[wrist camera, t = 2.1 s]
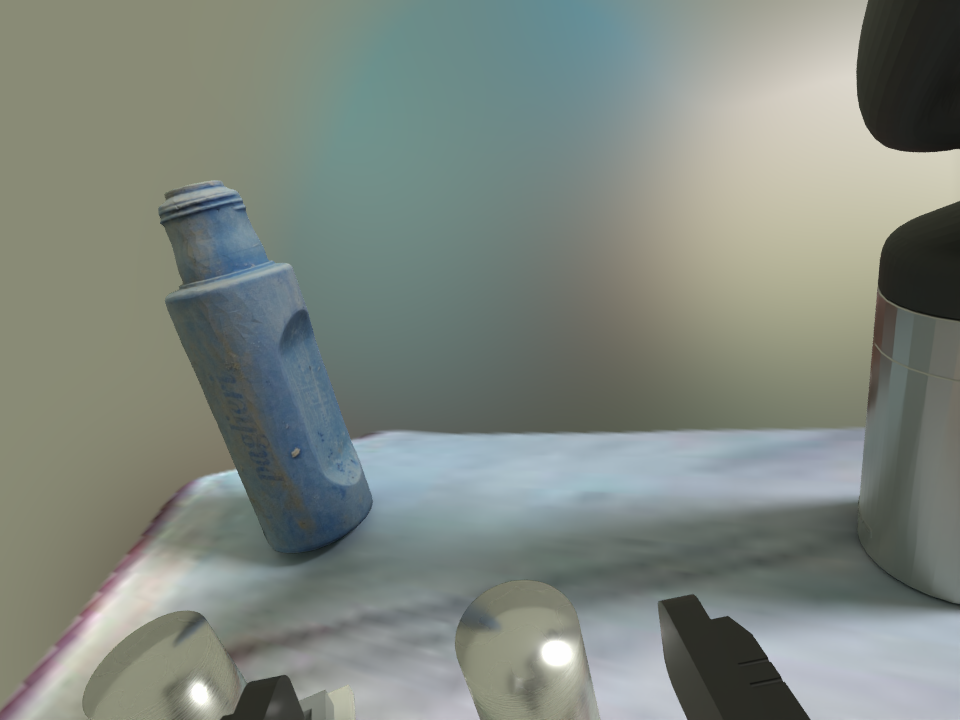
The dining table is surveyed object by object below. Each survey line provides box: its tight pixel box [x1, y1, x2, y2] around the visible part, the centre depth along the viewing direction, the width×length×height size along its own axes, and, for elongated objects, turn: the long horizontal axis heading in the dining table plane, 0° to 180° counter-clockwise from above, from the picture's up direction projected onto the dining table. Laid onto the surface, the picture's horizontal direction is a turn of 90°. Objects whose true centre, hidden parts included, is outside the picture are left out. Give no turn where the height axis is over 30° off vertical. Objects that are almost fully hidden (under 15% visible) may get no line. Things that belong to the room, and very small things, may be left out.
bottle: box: [159, 180, 373, 553], centre depth 45 cm, size 10×10×30 cm
